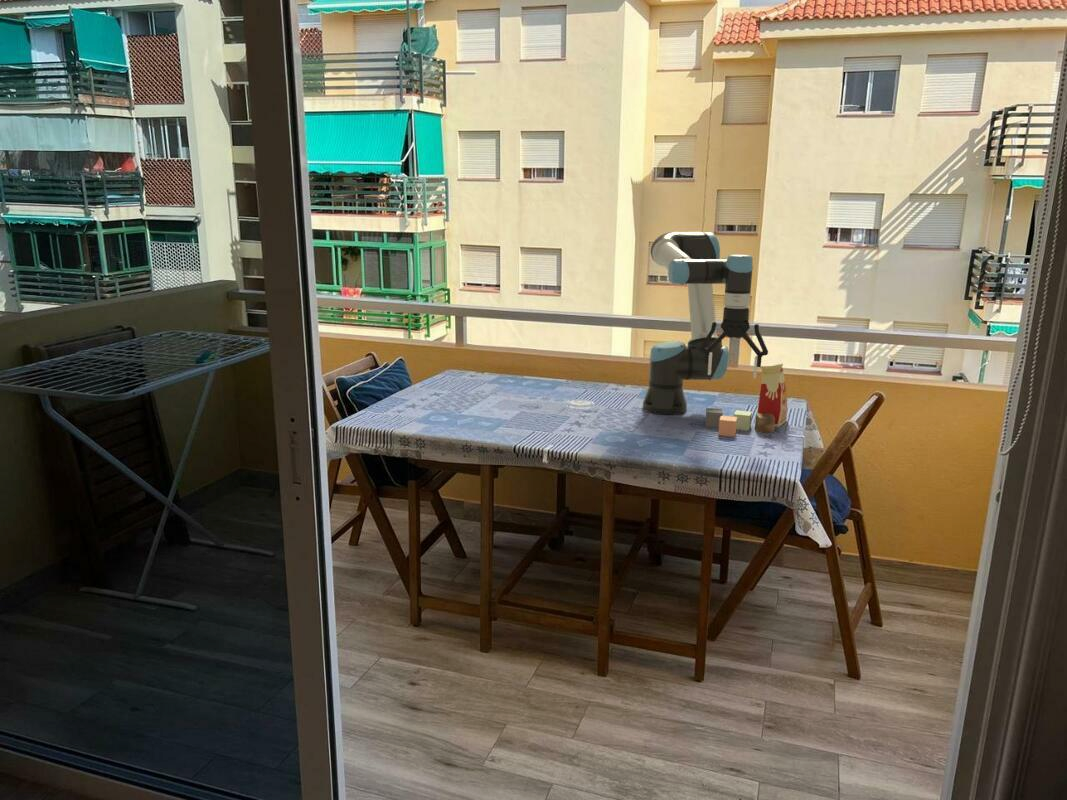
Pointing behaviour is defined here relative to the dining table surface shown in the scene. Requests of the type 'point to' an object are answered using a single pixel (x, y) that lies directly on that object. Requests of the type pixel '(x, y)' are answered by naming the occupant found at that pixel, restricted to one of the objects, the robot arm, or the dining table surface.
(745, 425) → the sage block
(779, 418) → the milk carton
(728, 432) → the terracotta block
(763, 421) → the walnut block
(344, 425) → the dining table surface
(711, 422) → the grey beige cube
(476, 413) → the dining table surface
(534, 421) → the dining table surface
